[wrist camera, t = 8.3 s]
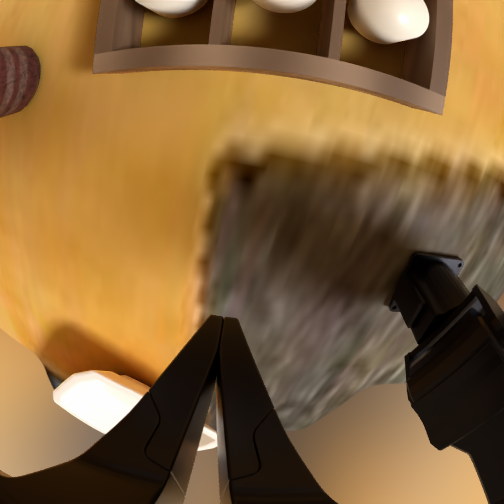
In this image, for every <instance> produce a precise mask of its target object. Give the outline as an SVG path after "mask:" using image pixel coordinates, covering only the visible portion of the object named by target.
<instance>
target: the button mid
mask: <svg viewBox="0 0 504 504" xmlns="http://www.w3.org/2000/svg"><path fill="white" fill-rule="evenodd" d="M252 1H253V2H254V3H255V4H257V5H258V6H260V7H262V8H264V9H266V10H269V11H273V12H278V13H294V12H298V11H302V10H304V9H306V8H308V7H310V6H311V5H312V4H314V3H315V1H316V0H252Z"/></svg>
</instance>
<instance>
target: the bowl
mask: <svg viewBox="0 0 504 504" xmlns="http://www.w3.org/2000/svg"><path fill="white" fill-rule="evenodd" d="M149 389H150V387H149V386H147V385H145V384H143V383H141V382H139V381H137V380H135V379H133V378H131V377H129V376H126V375H122V376H120V375H118V374H116V373H114V372H112V371H99V370H89V371H84V372H79V373H74V374H72V375H71V376H70V377H69V378H67V379H66V380H65V381H64V382H62V383H61V384H60V385H59V386H58V387H57V388H56V389H55V390H54V391H53V401H54V402H55V403H57V404H58V405H60V406H61V407H62V408H63V409H65V410H66V411H68V412H69V413H70V414H72V415H73V416H75V417H76V418H78V419H80V420H81V421H83V422H84V423H86V424H88V425H89V426H91V427H93V428H95V429H96V430H98V431H100V432H102V433H104V434H106V433H107V432H108V431H110V430H111V429H112V428H113V427H114V426H115V425H116V424H117V423H118V422H119V421H120V420H121V419H123V418H124V417H125V416H126V415H127V414H128V413H129V412H130V411H131V409H132V408H133V407H134V406H135V405H136V404H137V403H138V402H139V400H140V399H141V398H142V397H143V396H144V394H145V393H146V392H147V391H148V392H149ZM214 447H217V432H216V431H215V430H214V429H212V428H211V427H210V426H208V425H207V424H206V423H205V424H204V428H203V432H202V436H201V439H200V443H199V447H198V450H197V451H199V450H205V449H210V448H214Z"/></svg>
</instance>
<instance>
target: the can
mask: <svg viewBox="0 0 504 504" xmlns="http://www.w3.org/2000/svg"><path fill="white" fill-rule="evenodd" d="M39 79H40V62H39V58H38V56H37V55H36V53H35V52H34V51H33V49H32V48H30V47H28V46H12V47H0V118H1V117H4V116H7V115H10V114H14V113H16V112H19V111H21V110H22V109H23V108H24V107H25V106H27V104H28V103H29V102H30V100H31V99H32V97H33V96H34V94H35V92H36V89H37V87H38V84H39Z"/></svg>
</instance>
